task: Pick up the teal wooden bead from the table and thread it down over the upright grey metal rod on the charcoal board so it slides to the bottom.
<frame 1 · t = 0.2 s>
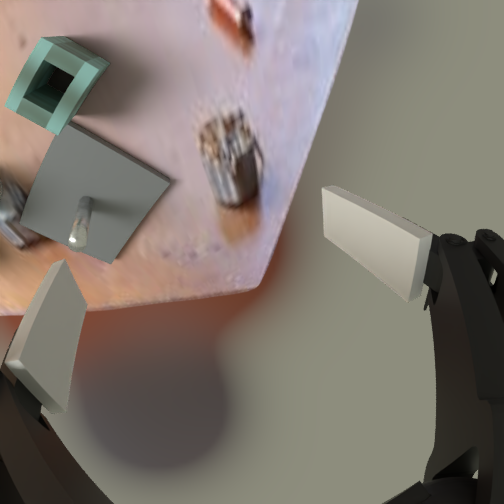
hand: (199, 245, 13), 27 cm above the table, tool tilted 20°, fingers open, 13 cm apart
rod: (81, 221, 32), on the board, point 6 cm above the table
bead: (68, 75, 23), on the table
board: (87, 197, 36), on the table
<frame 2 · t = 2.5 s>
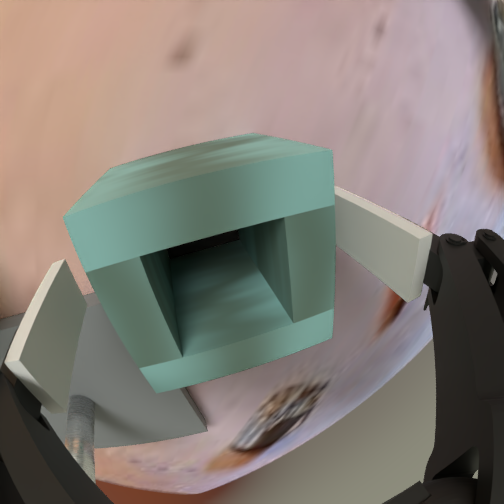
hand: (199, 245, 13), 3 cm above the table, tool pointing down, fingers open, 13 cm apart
rod: (79, 447, 14), on the board, point 6 cm above the table
bead: (196, 215, 16), on the table
board: (83, 389, 19), on the table
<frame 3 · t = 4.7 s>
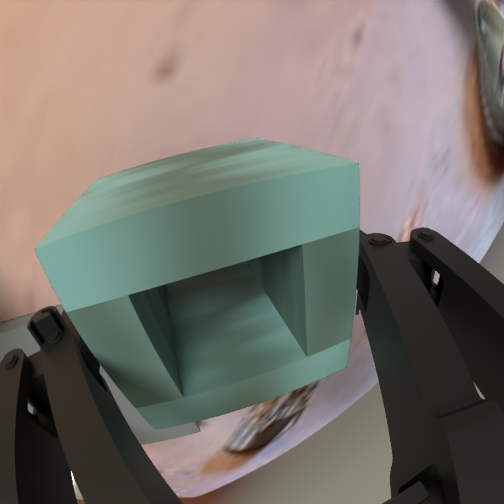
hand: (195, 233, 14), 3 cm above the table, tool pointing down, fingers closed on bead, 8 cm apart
bead: (194, 230, 14), point 3 cm above the table, touching gripper
board: (79, 391, 19), on the table
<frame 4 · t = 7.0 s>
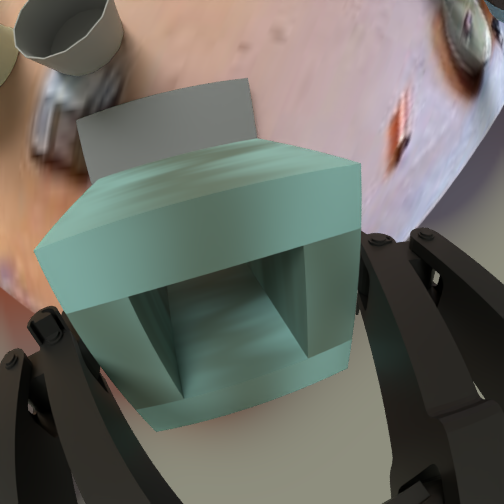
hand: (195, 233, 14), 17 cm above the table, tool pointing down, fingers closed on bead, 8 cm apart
cup: (86, 41, 19), on the table
bead: (194, 230, 14), point 17 cm above the table, touching gripper
board: (176, 174, 29), on the table
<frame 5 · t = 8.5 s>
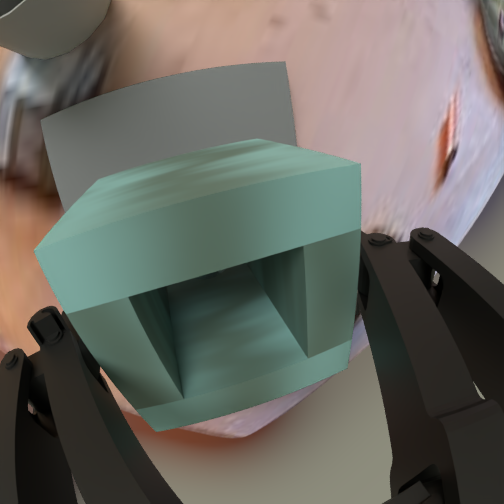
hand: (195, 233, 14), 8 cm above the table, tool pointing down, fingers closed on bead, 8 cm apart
cup: (61, 13, 11), on the table
bead: (194, 231, 14), point 8 cm above the table, touching gripper
board: (183, 194, 21), on the table
when the fingers open (7 cm above the table, at t = 9.5 s): bead drops 5 cm, resting on board.
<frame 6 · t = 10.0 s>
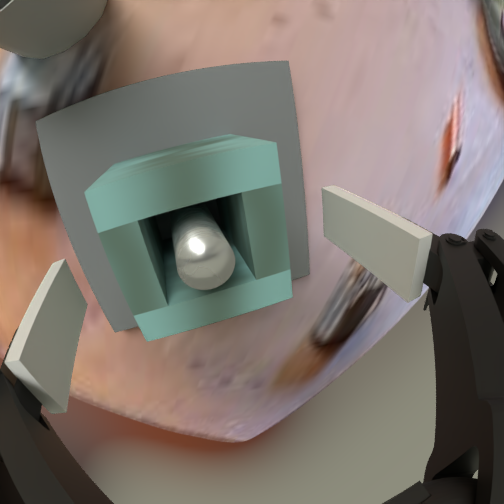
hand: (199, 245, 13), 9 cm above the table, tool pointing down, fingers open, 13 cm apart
cup: (57, 11, 10), on the table
rod: (192, 226, 15), on the board, point 6 cm above the table
bead: (184, 203, 19), point 1 cm above the table, touching board
board: (183, 198, 20), on the table
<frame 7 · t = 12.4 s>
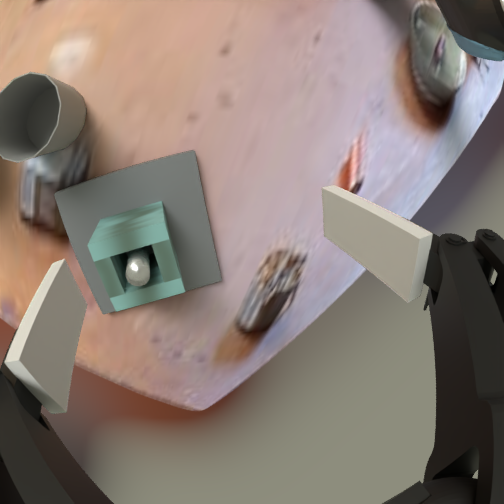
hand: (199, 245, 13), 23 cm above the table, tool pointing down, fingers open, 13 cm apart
cup: (56, 118, 25), on the table
rod: (138, 255, 29), on the board, point 6 cm above the table
bead: (139, 239, 33), point 1 cm above the table, touching board
board: (140, 235, 34), on the table
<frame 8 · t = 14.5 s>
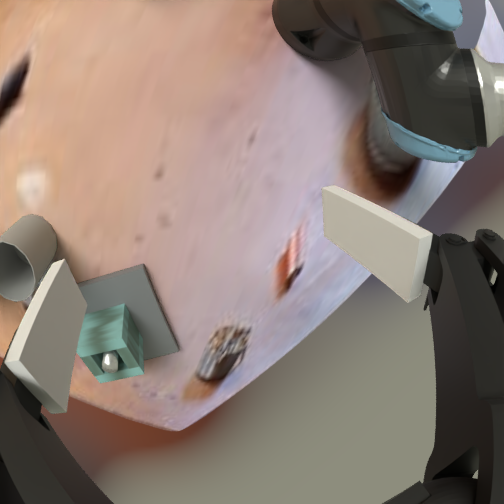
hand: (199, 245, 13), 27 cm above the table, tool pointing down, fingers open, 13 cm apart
cup: (34, 240, 33), on the table
rod: (111, 346, 38), on the board, point 6 cm above the table
bead: (112, 327, 42), point 1 cm above the table, touching board
board: (113, 322, 43), on the table
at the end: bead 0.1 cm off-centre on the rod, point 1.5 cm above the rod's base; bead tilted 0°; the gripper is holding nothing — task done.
